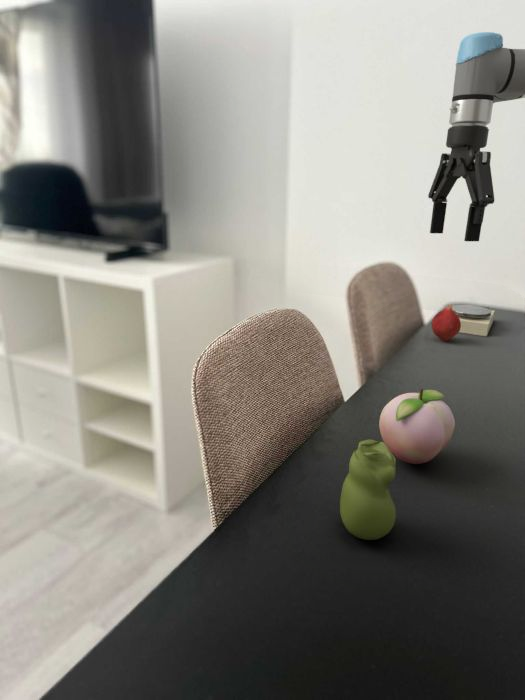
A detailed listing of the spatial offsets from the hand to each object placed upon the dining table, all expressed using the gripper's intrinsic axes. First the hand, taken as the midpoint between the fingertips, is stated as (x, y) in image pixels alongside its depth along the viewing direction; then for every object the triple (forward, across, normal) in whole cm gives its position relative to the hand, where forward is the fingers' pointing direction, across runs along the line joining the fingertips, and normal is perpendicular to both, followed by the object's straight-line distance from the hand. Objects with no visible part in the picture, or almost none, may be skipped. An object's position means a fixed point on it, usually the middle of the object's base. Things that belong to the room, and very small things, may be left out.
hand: (452, 237), depth 107 cm
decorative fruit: (+22, +48, -31) cm, 61 cm away
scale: (+22, -7, +11) cm, 25 cm away
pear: (+22, +60, -41) cm, 76 cm away
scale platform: (+18, -6, +10) cm, 22 cm away
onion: (+22, +3, -1) cm, 22 cm away
